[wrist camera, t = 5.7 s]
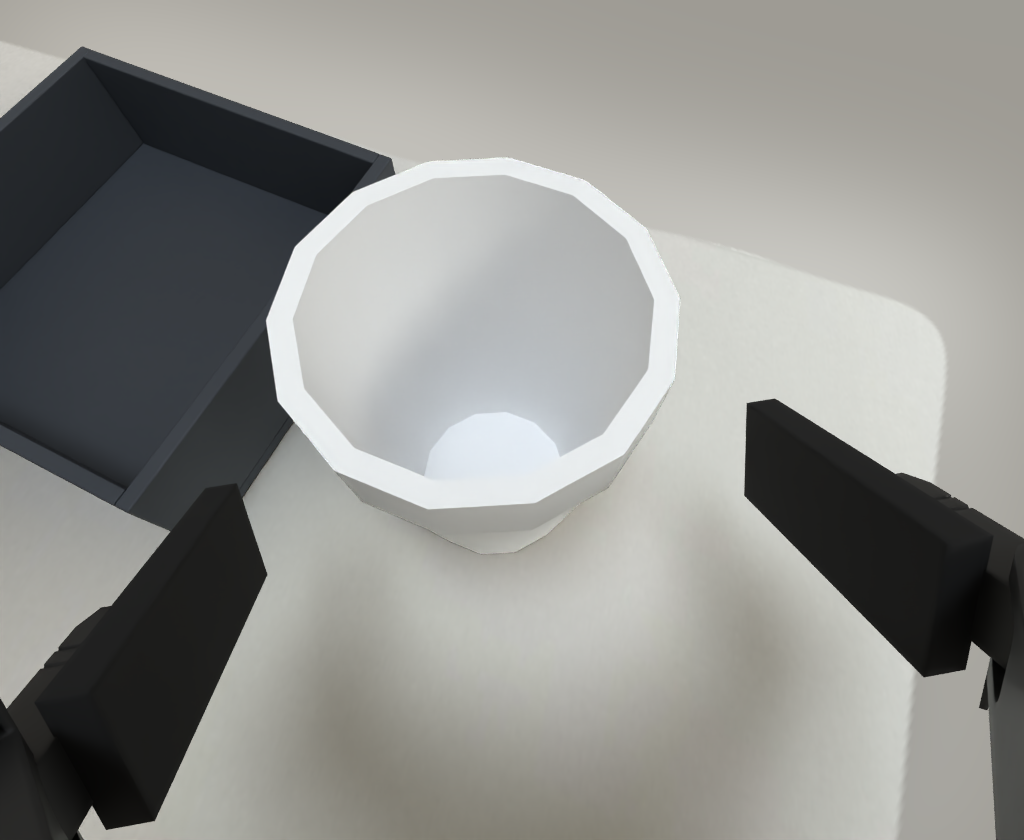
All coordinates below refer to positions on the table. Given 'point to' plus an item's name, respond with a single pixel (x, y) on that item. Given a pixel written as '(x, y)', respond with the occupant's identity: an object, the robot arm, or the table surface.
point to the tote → (151, 278)
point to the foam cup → (475, 345)
